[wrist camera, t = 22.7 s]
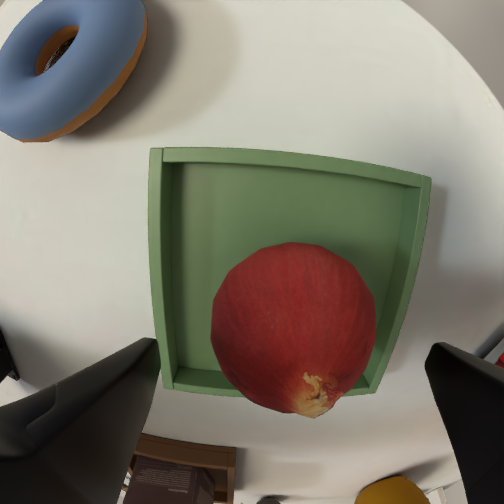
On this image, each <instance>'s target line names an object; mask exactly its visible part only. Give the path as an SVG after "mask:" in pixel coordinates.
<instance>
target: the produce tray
mask: <svg viewBox="0 0 504 504" xmlns="http://www.w3.org/2000/svg"><path fill="white" fill-rule="evenodd" d="M430 190H431V177H428V176H424V175H420V174H416V173H412V172H408V171H404V170H399V169H395V168H390V167H385V166H380V165H375V164H370V163H364V162H358V161H353V160H346V159H340V158H333V157H326V156H319V155H311V154H302V153H293V152H283V151H272V150H258V149H242V148H217V147H165V148H151V149H150V158H149V181H148V242H149V266H150V282H151V295H152V306H153V316H154V325H155V333H156V340H157V341H158V344H159V351H160V358H161V374H162V380H163V386H164V388H166V389H172V390H173V389H174V390H178V391H185V392H192V393H200V394H209V395H219V396H230V397H245V396H244V395H242V394H241V393H240V392H239V391H238V390H237V389H236V388H235V387H234V386H233V385H232V384H231V383H230V382H229V381H228V380H227V378H226V377H225V376H224V375H223V373H222V371H221V368H220V366H219V363H218V361H217V358H216V356H215V353H214V351H213V347H212V344H211V340H210V334H211V318H212V306H213V299H214V297H215V295H216V293H217V291H218V290H219V288H220V286H221V284H222V282H223V281H224V279H225V277H226V275H227V273H228V272H229V271H230V270H231V269H232V268H233V267H234V266H236V265H237V264H239V263H240V262H242V261H243V260H244V259H246V258H247V257H249V256H250V255H252V254H253V253H255V252H256V251H258V250H259V249H261V248H265V247H269V246H274V245H278V244H282V243H286V242H298V243H306V244H314V245H321V246H322V247H324V248H326V249H328V250H329V251H331V252H333V253H334V254H336V255H338V256H340V257H341V258H343V259H345V260H346V261H348V262H350V263H352V264H353V265H354V267H355V268H356V270H357V271H358V273H359V274H360V276H361V277H362V279H363V281H364V282H365V284H366V285H367V287H368V288H369V290H370V292H371V293H372V295H373V296H374V302H375V311H376V340H375V344H374V347H373V350H372V353H371V356H370V359H369V362H368V365H367V367H366V370H365V371H364V372H363V374H362V375H361V376H360V378H359V379H358V380H357V382H356V383H355V384H354V386H353V387H352V388H351V389H350V391H348V392H347V393H346V394H344V395H343V396H354V395H364V394H372V393H375V392H376V390H377V388H378V386H379V384H380V381H381V379H382V377H383V374H384V372H385V369H386V367H387V365H388V362H389V359H390V357H391V354H392V352H393V349H394V346H395V344H396V341H397V338H398V335H399V332H400V329H401V326H402V323H403V320H404V317H405V314H406V310H407V307H408V304H409V300H410V296H411V293H412V289H413V285H414V281H415V277H416V273H417V269H418V264H419V260H420V255H421V250H422V245H423V240H424V234H425V228H426V222H427V215H428V208H429V200H430ZM343 396H341V397H343ZM245 398H246V397H245Z"/></svg>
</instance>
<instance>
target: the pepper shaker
mask: <svg viewBox="0 0 504 504" xmlns="http://www.w3.org/2000/svg"><path fill="white" fill-rule="evenodd" d="M425 496H426V498H428V499H429V502H430V503H431V504H447V502H446V498H445V495H444V491H443V488H442V487H440V488H437V489H435V490H433V491H431V492H430V493H428V494H426V495H425Z"/></svg>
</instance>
